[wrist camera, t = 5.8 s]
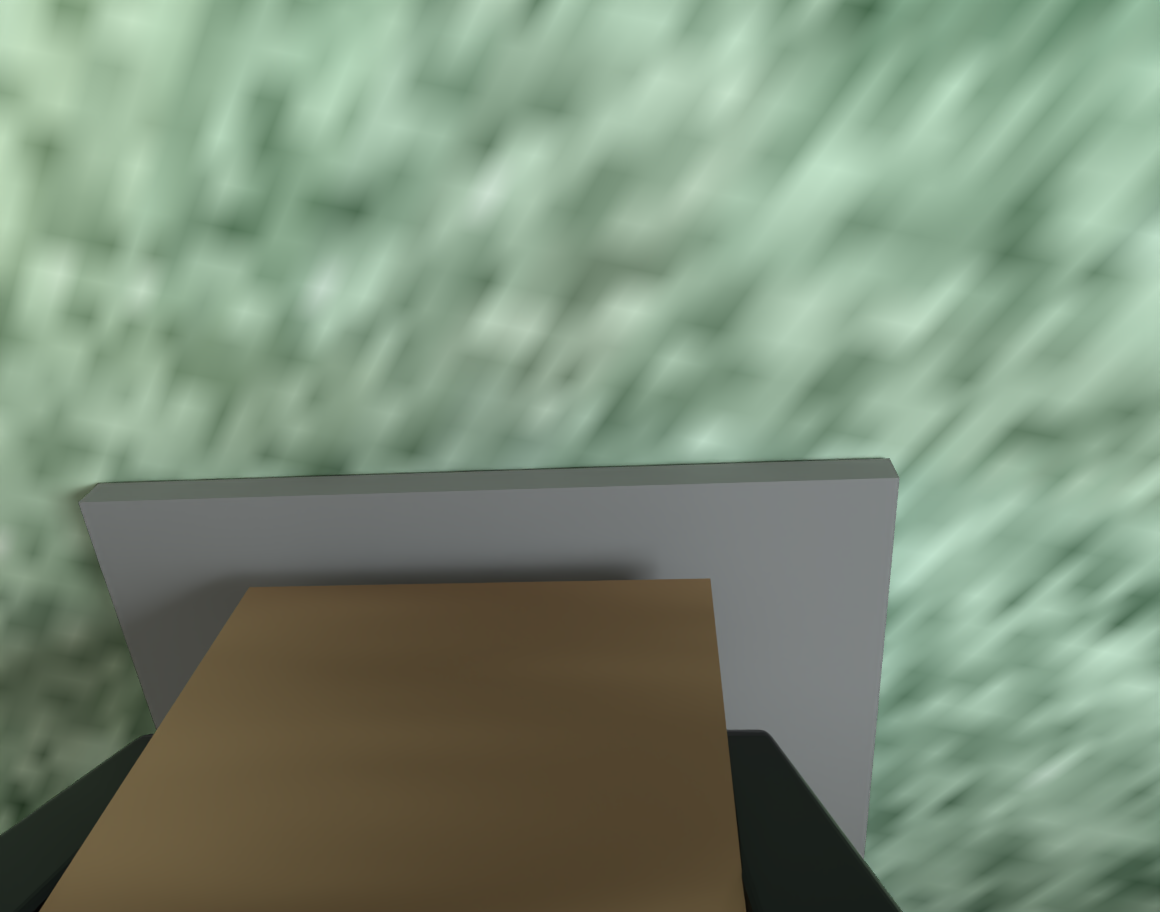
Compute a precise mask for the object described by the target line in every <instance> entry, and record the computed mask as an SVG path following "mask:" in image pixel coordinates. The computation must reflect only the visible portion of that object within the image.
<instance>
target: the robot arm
mask: <svg viewBox="0 0 1160 912" xmlns="http://www.w3.org/2000/svg"><path fill="white" fill-rule="evenodd" d="M153 735H154V734H148V735H143V736H141V737H139V738H137V739H136V740H134V741H132V742H131V743H129V744H128V745H127V746H125V747H124V748H122V749H121V750H120V751H118V752H117V753H115V754H114V755H113V756H111V757H110V758H108V759H107V760H106V761H104V762H103V763H101V764H100V765H98V766H97V767H96V768H94V769H93V770H91V771H90V772H89V773H87V774H86V775H84V776H83V777H82V778H80V779H79V780H77V781H76V782H75V783H73V784H72V785H70V786H69V787H67V788H66V789H65V790H63V791H62V792H60V793H59V794H58V795H56V796H55V797H53V798H52V799H51V800H49V801H48V802H46V803H45V804H43V805H42V806H41V807H39V808H38V809H36V810H35V811H34V812H32V813H31V814H29V815H28V816H27V817H25V818H24V819H22V820H21V821H20V822H18V823H17V824H15V825H14V826H12V827H11V828H10V829H8V830H7V831H5V832H4V833H3V834H1V835H0V912H39V911H40V909H41V908H42V906H43V905H44V903H45V902H46V900H47V899H48V897H49V895H50V894H51V892H52V891H53V889H54V888H55V886H56V885H57V883H58V882H59V880H60V878H61V877H62V875H63V874H64V872H65V871H66V869H67V868H68V866H69V865H70V863H71V862H72V860H73V858H74V857H75V855H76V854H77V852H78V851H79V849H80V848H81V846H82V845H83V843H84V841H85V840H86V838H87V837H88V835H89V834H90V832H91V831H92V829H93V828H94V826H95V824H96V823H97V821H98V820H99V818H100V817H101V815H102V814H103V812H104V811H105V809H106V807H107V806H108V804H109V803H110V801H111V800H112V798H113V797H114V795H115V794H116V792H117V791H118V789H119V787H120V786H121V784H122V783H123V781H124V780H125V778H126V777H127V775H128V774H129V772H130V770H131V769H132V767H133V766H134V764H135V763H136V761H137V760H138V758H139V757H140V755H141V753H142V752H143V750H144V749H145V747H146V746H147V744H148V743H149V741H150V740H151V738H152V736H153ZM727 738H728V747H729V756H730V766H731V775H732V784H733V794H734V803H735V812H736V821H737V831H738V840H739V849H740V859H741V868H742V883H743V891H744V898H745V905H746V912H903V911H902V910H901V909H900V907H899V906H898V905H897V903H896V902H895V901H894V899H893V898H892V897H891V895H890V894H889V893H888V891H887V890H886V889H885V887H884V886H883V885H882V883H881V882H880V881H879V879H878V878H877V876H876V875H875V874H874V872H873V871H872V870H871V868H870V867H869V866H868V864H867V863H866V862H865V860H864V859H863V858H862V856H861V855H860V854H859V852H858V851H857V850H856V848H855V847H854V846H853V844H852V843H851V842H850V840H849V839H848V838H847V836H846V835H845V834H844V832H843V831H842V830H841V828H840V827H839V826H838V824H837V823H836V822H835V820H834V819H833V817H832V816H831V815H830V813H829V812H828V811H827V809H826V808H825V807H824V805H823V804H822V803H821V801H820V800H819V799H818V797H817V796H816V795H815V793H814V792H813V791H812V789H811V788H810V787H809V785H808V784H807V783H806V781H805V780H804V779H803V777H802V776H801V775H800V773H799V772H798V771H797V769H796V768H795V767H794V765H793V764H792V763H791V761H790V760H789V759H788V757H787V756H786V754H785V753H784V752H783V750H782V749H781V748H780V746H779V745H778V744H777V742H776V741H775V740H774V739H773V737H772V736H771V735H770V734H769V733H768V732H766V731H764V730H760V729H744V730H727Z"/></svg>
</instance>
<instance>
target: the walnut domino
mask: <svg viewBox="0 0 1160 912" xmlns="http://www.w3.org/2000/svg"><path fill="white" fill-rule="evenodd" d="M39 912H746V905H745V898H744V891H743V883H742V868H741V859H740V849H739V840H738V831H737V821H736V812H735V803H734V794H733V784H732V775H731V766H730V756H729V747H728V738H727V728H726V719H725V710H724V701H723V691H722V682H721V673H720V663H719V654H718V645H717V635H716V626H715V617H714V608H713V598H712V589H711V580H710V578H707V579H654V580H601V581H548V582H495V583H442V584H389V585H336V586H283V587H249V588H248V590H247V591H246V593H245V594H244V596H243V598H242V599H241V601H240V602H239V604H238V605H237V607H236V608H235V610H234V611H233V613H232V615H231V616H230V618H229V619H228V621H227V622H226V624H225V625H224V627H223V628H222V630H221V632H220V633H219V635H218V636H217V638H216V639H215V641H214V642H213V644H212V645H211V647H210V649H209V650H208V652H207V653H206V655H205V656H204V658H203V659H202V661H201V662H200V664H199V665H198V667H197V669H196V670H195V672H194V673H193V675H192V676H191V678H190V679H189V681H188V682H187V684H186V686H185V687H184V689H183V690H182V692H181V693H180V695H179V696H178V698H177V699H176V701H175V703H174V704H173V706H172V707H171V709H170V710H169V712H168V713H167V715H166V716H165V718H164V720H163V721H162V723H161V724H160V726H159V727H158V729H157V730H156V732H155V733H154V735H153V736H152V738H151V740H150V741H149V743H148V744H147V746H146V747H145V749H144V750H143V752H142V753H141V755H140V757H139V758H138V760H137V761H136V763H135V764H134V766H133V767H132V769H131V770H130V772H129V774H128V775H127V777H126V778H125V780H124V781H123V783H122V784H121V786H120V787H119V789H118V791H117V792H116V794H115V795H114V797H113V798H112V800H111V801H110V803H109V804H108V806H107V807H106V809H105V811H104V812H103V814H102V815H101V817H100V818H99V820H98V821H97V823H96V824H95V826H94V828H93V829H92V831H91V832H90V834H89V835H88V837H87V838H86V840H85V841H84V843H83V845H82V846H81V848H80V849H79V851H78V852H77V854H76V855H75V857H74V858H73V860H72V862H71V863H70V865H69V866H68V868H67V869H66V871H65V872H64V874H63V875H62V877H61V878H60V880H59V882H58V883H57V885H56V886H55V888H54V889H53V891H52V892H51V894H50V895H49V897H48V899H47V900H46V902H45V903H44V905H43V906H42V908H41V909H40V911H39Z"/></svg>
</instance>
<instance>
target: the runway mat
mask: <svg viewBox="0 0 1160 912" xmlns="http://www.w3.org/2000/svg"><path fill="white" fill-rule="evenodd" d="M898 487H899V476H898V474H897V472H896V470H895V468H894V466H893V464H892V462H891V460H890V458H886V459H855V460H823V461H791V462H760V463H728V464H696V465H665V466H633V467H601V468H570V469H538V470H506V471H475V472H443V473H411V474H379V475H348V476H316V477H284V478H253V479H221V480H189V481H158V482H126V483H98V484H97V485H96V486H95V487H94V488H93V489H92V490H91V491H90V492H89V493H88V494H87V495H86V496H84V497H83V498H82V499H81V500H80V501H79V502H78V503H79V506H80V509H81V512H82V515H83V518H84V521H85V524H86V527H87V530H88V532H89V535H90V538H91V541H92V544H93V547H94V550H95V553H96V556H97V559H98V562H99V564H100V567H101V570H102V573H103V576H104V579H105V582H106V585H107V588H108V591H109V594H110V596H111V599H112V602H113V605H114V608H115V611H116V614H117V617H118V620H119V623H120V626H121V628H122V631H123V634H124V637H125V640H126V643H127V646H128V649H129V652H130V655H131V658H132V660H133V663H134V666H135V669H136V672H137V675H138V678H139V681H140V684H141V687H142V690H143V692H144V695H145V698H146V701H147V704H148V707H149V710H150V713H151V716H152V719H153V722H154V724H155V727H156V730H157V729H158V727H159V726H160V724H161V723H162V721H163V720H164V718H165V716H166V715H167V713H168V712H169V710H170V709H171V707H172V706H173V704H174V703H175V701H176V699H177V698H178V696H179V695H180V693H181V692H182V690H183V689H184V687H185V686H186V684H187V682H188V681H189V679H190V678H191V676H192V675H193V673H194V672H195V670H196V669H197V667H198V665H199V664H200V662H201V661H202V659H203V658H204V656H205V655H206V653H207V652H208V650H209V649H210V647H211V645H212V644H213V642H214V641H215V639H216V638H217V636H218V635H219V633H220V632H221V630H222V628H223V627H224V625H225V624H226V622H227V621H228V619H229V618H230V616H231V615H232V613H233V611H234V610H235V608H236V607H237V605H238V604H239V602H240V601H241V599H242V598H243V596H244V594H245V593H246V591H247V590H248V588H249V587H283V586H336V585H389V584H442V583H495V582H548V581H601V580H654V579H707V578H710V580H711V589H712V598H713V608H714V617H715V626H716V635H717V645H718V654H719V663H720V673H721V682H722V691H723V701H724V710H725V719H726V728H727V730H744V729H760V730H764V731H766V732H768V733H769V734H770V735H771V736H772V737H773V739H774V740H775V741H776V742H777V744H778V745H779V746H780V748H781V749H782V750H783V752H784V753H785V754H786V756H787V757H788V759H789V760H790V761H791V763H792V764H793V765H794V767H795V768H796V769H797V771H798V772H799V773H800V775H801V776H802V777H803V779H804V780H805V781H806V783H807V784H808V785H809V787H810V788H811V789H812V791H813V792H814V793H815V795H816V796H817V797H818V799H819V800H820V801H821V803H822V804H823V805H824V807H825V808H826V809H827V811H828V812H829V813H830V815H831V816H832V817H833V819H834V820H835V822H836V823H837V824H838V826H839V827H840V828H841V830H842V831H843V832H844V834H845V835H846V836H847V838H848V839H849V840H850V842H851V843H852V844H853V846H854V847H855V848H856V850H857V851H858V852H859V854H860V855H861V856H862V858H863V859H864V852H865V841H866V831H867V820H868V809H869V798H870V788H871V777H872V766H873V755H874V745H875V734H876V723H877V712H878V702H879V691H880V680H881V669H882V659H883V648H884V637H885V626H886V616H887V605H888V594H889V583H890V573H891V562H892V551H893V540H894V530H895V519H896V508H897V497H898Z"/></svg>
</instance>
